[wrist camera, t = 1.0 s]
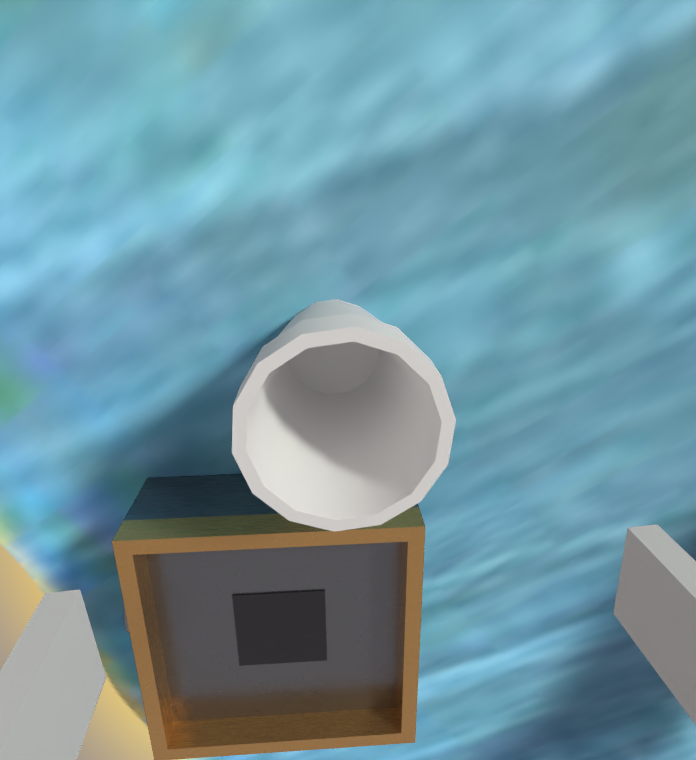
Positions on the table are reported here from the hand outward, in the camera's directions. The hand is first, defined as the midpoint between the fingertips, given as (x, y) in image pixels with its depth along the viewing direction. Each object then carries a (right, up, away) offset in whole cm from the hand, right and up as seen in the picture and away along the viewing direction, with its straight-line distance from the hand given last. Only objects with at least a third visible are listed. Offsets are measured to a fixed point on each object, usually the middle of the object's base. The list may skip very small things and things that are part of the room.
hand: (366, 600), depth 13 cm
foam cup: (-1, +8, +22) cm, 23 cm away
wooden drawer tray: (-5, -10, +28) cm, 30 cm away
